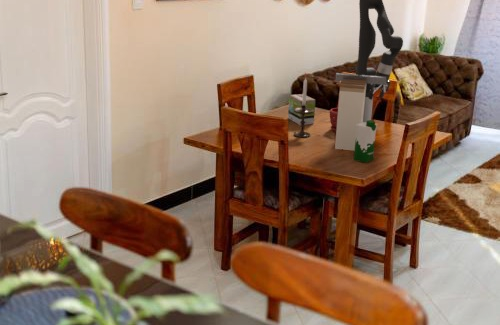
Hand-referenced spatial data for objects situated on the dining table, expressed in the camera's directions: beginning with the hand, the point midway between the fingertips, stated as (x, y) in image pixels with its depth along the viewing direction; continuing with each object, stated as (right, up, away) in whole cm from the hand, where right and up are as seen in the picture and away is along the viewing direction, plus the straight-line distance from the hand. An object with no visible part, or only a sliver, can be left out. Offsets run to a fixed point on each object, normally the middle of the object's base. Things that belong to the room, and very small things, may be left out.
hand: (375, 98), depth 377 cm
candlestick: (-41, -21, -5) cm, 46 cm away
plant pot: (-19, -18, +7) cm, 27 cm away
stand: (-17, -25, -16) cm, 35 cm away
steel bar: (-12, +7, -21) cm, 25 cm away
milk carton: (-14, -34, -42) cm, 56 cm away
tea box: (-40, -12, +23) cm, 47 cm away
